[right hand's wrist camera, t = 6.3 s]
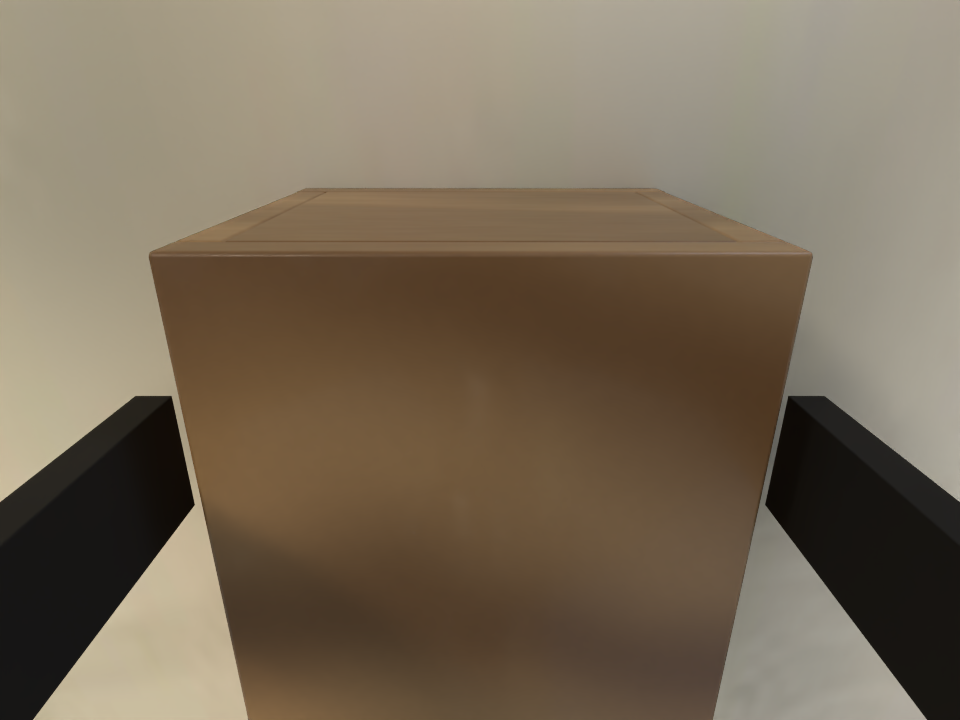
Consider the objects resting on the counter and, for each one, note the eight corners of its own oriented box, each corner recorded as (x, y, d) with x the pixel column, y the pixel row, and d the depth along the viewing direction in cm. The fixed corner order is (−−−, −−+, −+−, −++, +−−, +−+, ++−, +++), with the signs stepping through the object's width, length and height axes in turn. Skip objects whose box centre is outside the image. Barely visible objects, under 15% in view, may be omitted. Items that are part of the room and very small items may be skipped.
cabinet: (610, 616, 24) (679, 882, 15) (351, 616, 24) (281, 881, 15) (657, 188, 17) (816, 251, 9) (304, 188, 17) (145, 251, 9)
